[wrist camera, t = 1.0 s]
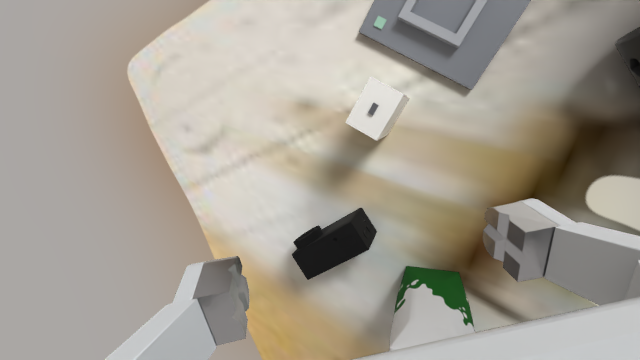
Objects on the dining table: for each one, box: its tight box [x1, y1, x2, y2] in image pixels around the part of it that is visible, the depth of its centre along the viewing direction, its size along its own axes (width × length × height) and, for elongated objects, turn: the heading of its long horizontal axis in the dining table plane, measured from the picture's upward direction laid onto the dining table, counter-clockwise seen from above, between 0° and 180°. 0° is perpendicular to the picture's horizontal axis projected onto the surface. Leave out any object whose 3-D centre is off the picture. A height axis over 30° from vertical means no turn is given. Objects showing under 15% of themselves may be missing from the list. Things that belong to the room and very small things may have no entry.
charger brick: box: [346, 76, 410, 141], centre depth 38 cm, size 6×4×10 cm
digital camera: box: [292, 208, 377, 280], centre depth 45 cm, size 10×5×7 cm, turn 125°
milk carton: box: [389, 266, 475, 351], centre depth 36 cm, size 9×9×20 cm
